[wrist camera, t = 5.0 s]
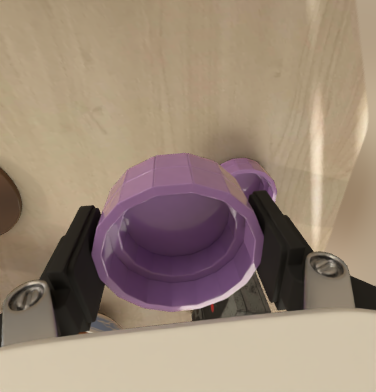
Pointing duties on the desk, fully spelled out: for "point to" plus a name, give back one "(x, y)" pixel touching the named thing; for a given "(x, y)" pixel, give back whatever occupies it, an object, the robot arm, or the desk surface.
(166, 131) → the desk surface
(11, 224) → the coaster
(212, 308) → the camera
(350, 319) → the robot arm
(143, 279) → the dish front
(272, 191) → the dish
